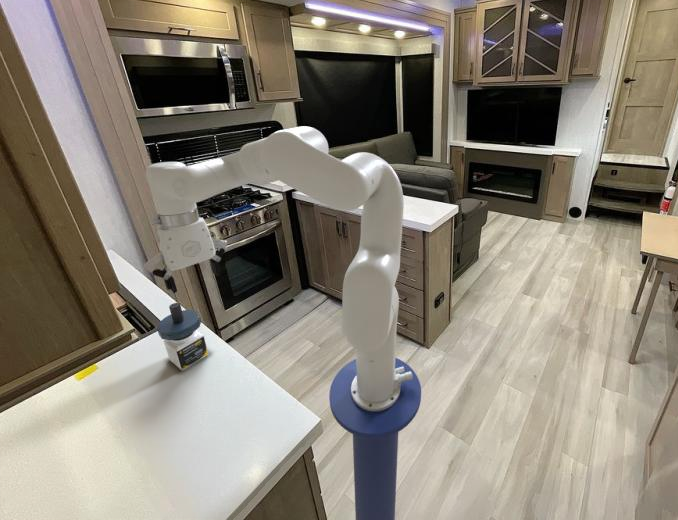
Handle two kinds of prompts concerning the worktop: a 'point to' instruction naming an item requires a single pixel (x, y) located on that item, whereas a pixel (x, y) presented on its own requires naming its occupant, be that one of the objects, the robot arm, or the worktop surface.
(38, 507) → the worktop surface
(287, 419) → the worktop surface
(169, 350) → the medicine bottle
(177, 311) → the blue disc with peg
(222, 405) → the worktop surface
